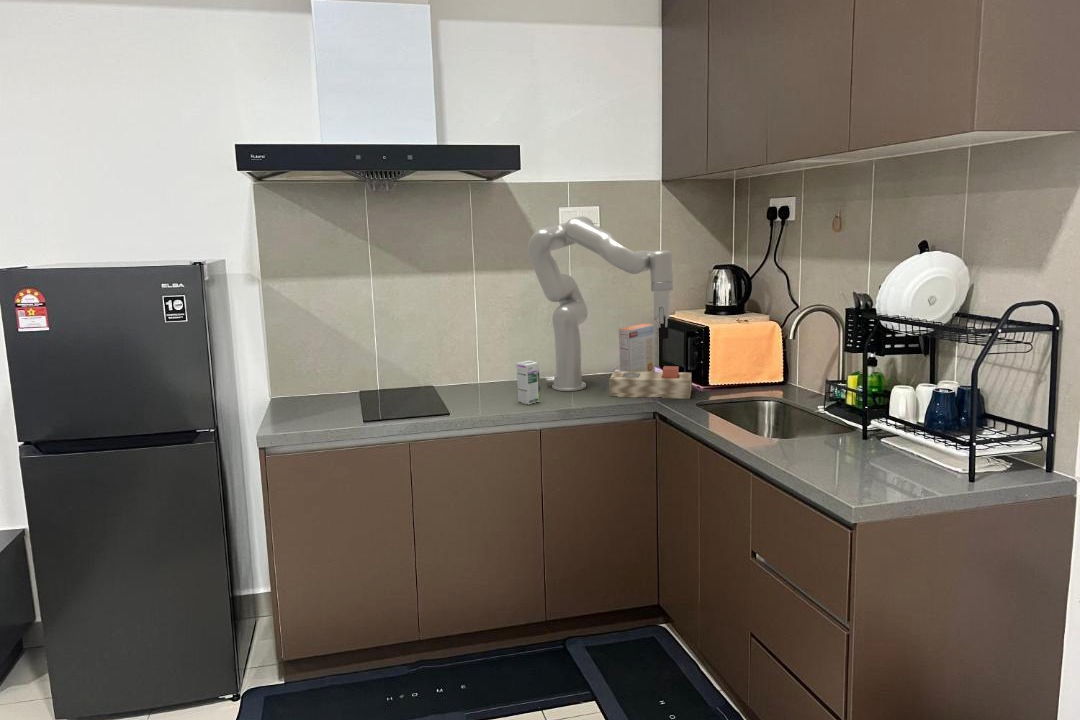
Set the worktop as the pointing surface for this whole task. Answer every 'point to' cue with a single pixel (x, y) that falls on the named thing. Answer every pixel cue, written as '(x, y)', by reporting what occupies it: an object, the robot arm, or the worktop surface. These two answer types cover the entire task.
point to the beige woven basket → (650, 385)
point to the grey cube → (631, 375)
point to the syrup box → (528, 381)
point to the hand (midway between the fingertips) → (663, 338)
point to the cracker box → (637, 348)
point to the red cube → (671, 372)
